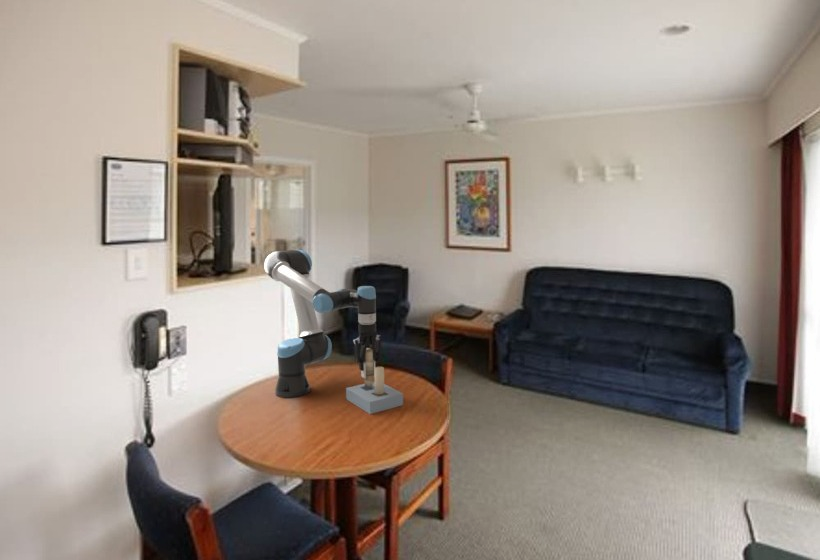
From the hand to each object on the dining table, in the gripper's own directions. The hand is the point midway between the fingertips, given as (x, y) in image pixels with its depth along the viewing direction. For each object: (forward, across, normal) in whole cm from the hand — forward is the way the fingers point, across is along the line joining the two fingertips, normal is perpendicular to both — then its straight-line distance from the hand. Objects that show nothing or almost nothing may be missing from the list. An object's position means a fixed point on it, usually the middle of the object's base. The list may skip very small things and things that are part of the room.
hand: (368, 376), depth 207 cm
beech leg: (+4, 0, 0) cm, 4 cm away
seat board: (+10, 0, -4) cm, 11 cm away
